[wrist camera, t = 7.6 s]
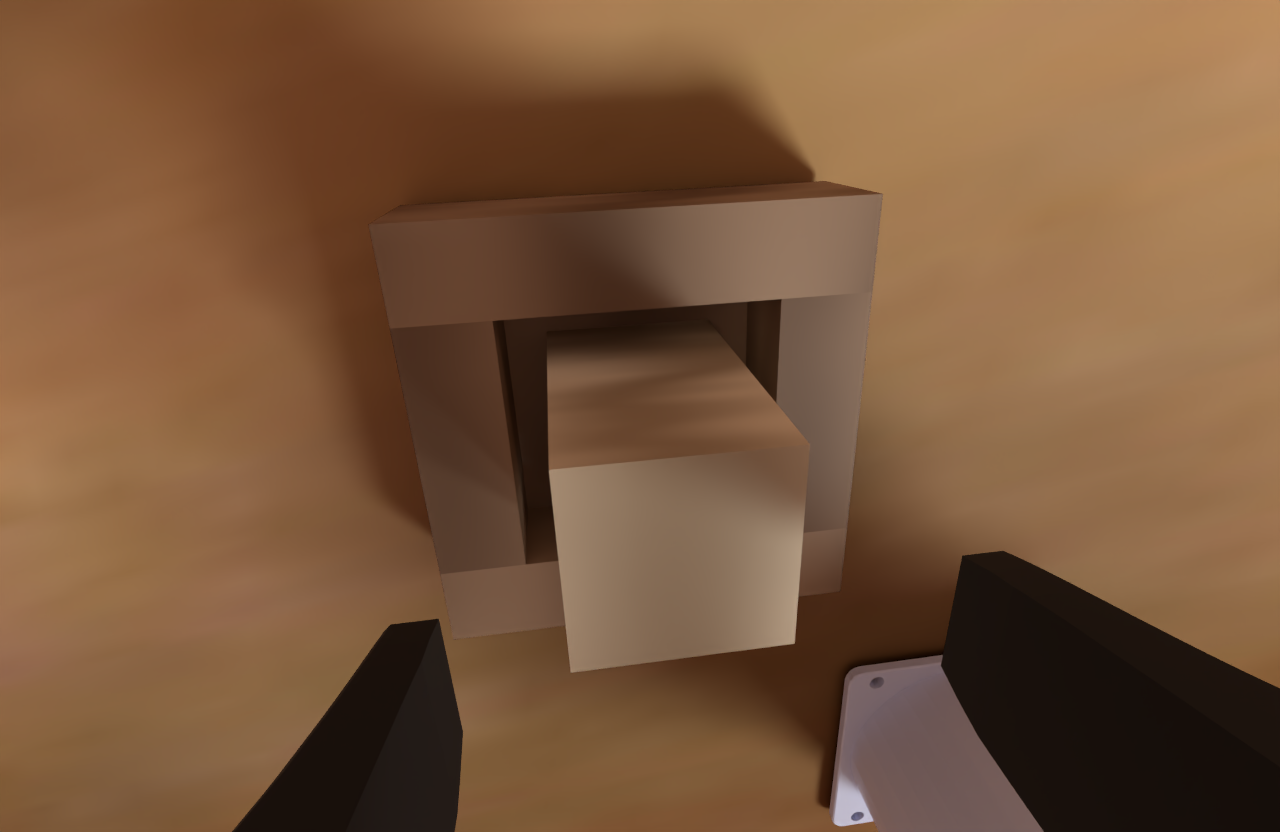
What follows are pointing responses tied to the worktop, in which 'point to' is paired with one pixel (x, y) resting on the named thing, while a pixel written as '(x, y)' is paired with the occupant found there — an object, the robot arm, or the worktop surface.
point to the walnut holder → (607, 297)
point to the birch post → (670, 496)
